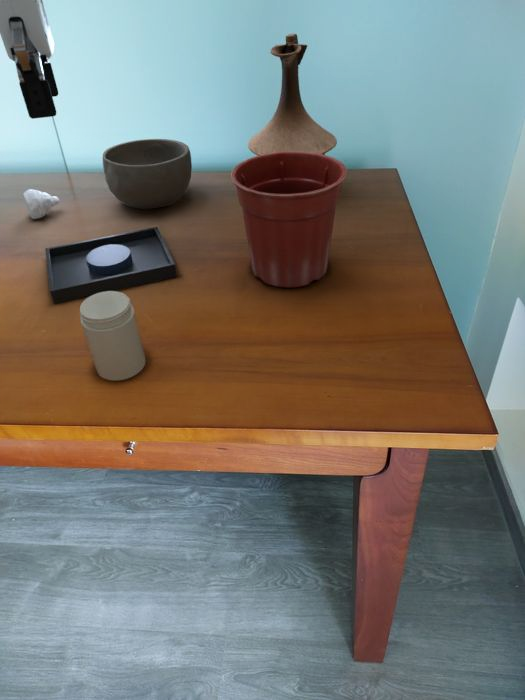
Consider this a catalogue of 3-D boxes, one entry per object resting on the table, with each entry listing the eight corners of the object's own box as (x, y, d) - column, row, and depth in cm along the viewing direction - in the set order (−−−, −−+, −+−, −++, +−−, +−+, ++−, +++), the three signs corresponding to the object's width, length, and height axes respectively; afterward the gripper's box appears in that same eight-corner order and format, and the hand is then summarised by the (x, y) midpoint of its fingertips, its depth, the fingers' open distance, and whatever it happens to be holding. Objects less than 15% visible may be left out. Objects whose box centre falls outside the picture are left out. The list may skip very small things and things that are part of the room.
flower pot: (219, 265, 87) (208, 169, 77) (296, 234, 94) (296, 142, 84) (280, 310, 77) (277, 206, 66) (361, 271, 84) (371, 172, 73)
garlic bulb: (65, 216, 103) (57, 189, 100) (34, 223, 101) (25, 197, 98) (59, 206, 107) (51, 180, 104) (29, 213, 105) (19, 187, 101)
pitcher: (255, 175, 115) (248, 28, 97) (333, 175, 114) (341, 25, 96) (246, 211, 102) (236, 47, 84) (334, 211, 100) (343, 44, 82)
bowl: (174, 176, 117) (167, 129, 111) (211, 203, 105) (205, 153, 99) (99, 195, 110) (87, 147, 104) (129, 227, 99) (118, 175, 92)
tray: (54, 304, 80) (49, 291, 78) (49, 260, 90) (45, 248, 89) (177, 276, 85) (175, 264, 83) (159, 238, 95) (157, 226, 93)
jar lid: (132, 251, 90) (130, 242, 89) (131, 272, 85) (129, 263, 84) (90, 255, 89) (88, 247, 88) (87, 277, 84) (84, 268, 83)
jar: (100, 386, 65) (80, 326, 59) (92, 356, 70) (73, 297, 64) (150, 372, 67) (136, 311, 61) (140, 343, 72) (125, 284, 66)
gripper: (28, -60, 52) (75, 122, 63) (38, -65, 65) (75, 87, 76) (-54, -56, 50) (8, 129, 61) (-27, -61, 63) (20, 93, 74)
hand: (45, 106), depth 68 cm, fingers open, 9 cm apart
